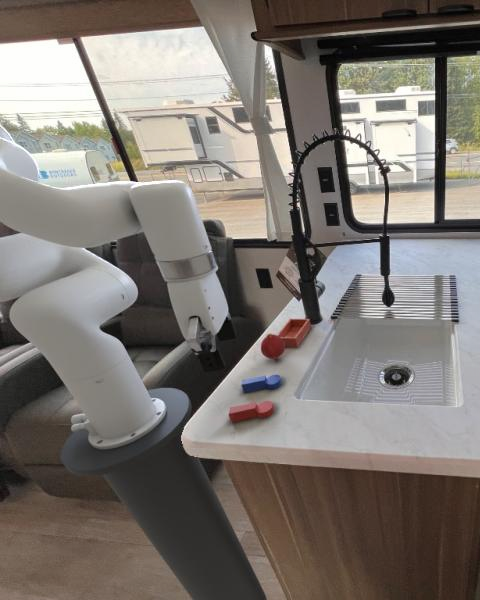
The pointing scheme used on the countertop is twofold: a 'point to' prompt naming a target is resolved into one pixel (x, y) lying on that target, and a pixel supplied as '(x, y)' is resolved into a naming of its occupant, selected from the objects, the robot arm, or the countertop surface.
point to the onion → (272, 346)
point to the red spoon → (251, 411)
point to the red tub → (294, 332)
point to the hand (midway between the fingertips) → (222, 353)
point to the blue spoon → (261, 383)
